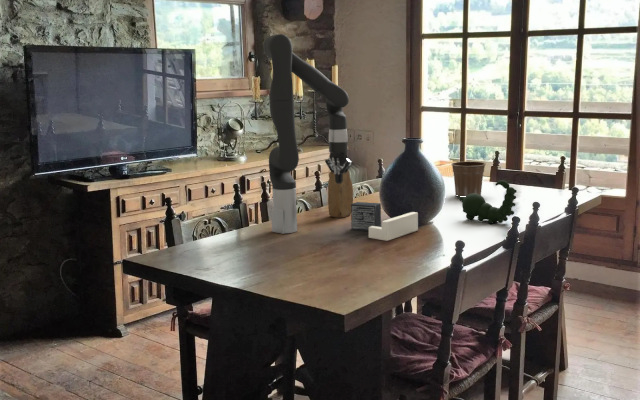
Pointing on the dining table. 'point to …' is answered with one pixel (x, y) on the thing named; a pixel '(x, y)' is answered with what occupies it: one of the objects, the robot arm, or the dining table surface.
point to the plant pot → (468, 177)
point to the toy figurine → (489, 206)
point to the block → (340, 196)
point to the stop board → (395, 227)
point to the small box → (365, 215)
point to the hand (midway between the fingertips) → (339, 183)
